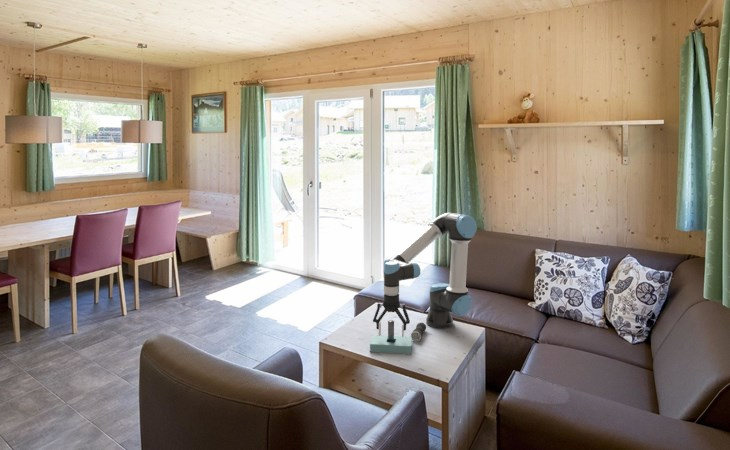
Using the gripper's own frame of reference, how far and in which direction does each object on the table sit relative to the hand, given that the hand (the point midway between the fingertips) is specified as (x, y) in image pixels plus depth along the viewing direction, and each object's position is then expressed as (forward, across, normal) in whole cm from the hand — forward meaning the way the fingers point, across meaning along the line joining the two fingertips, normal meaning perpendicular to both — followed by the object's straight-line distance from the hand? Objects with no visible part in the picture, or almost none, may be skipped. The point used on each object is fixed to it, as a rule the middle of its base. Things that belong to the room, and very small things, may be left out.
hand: (391, 335), depth 221 cm
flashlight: (+7, -14, -17) cm, 23 cm away
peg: (+6, 0, 0) cm, 6 cm away
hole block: (+6, 0, 0) cm, 6 cm away
